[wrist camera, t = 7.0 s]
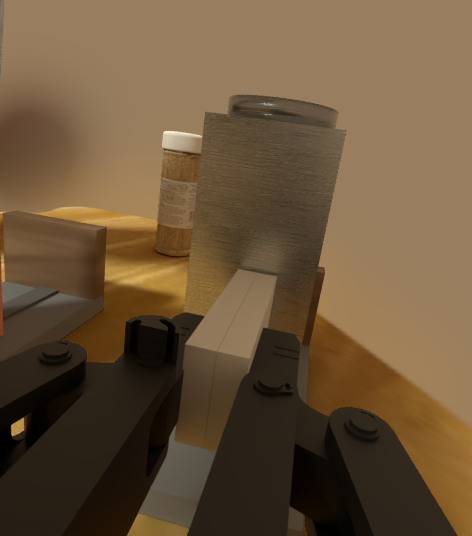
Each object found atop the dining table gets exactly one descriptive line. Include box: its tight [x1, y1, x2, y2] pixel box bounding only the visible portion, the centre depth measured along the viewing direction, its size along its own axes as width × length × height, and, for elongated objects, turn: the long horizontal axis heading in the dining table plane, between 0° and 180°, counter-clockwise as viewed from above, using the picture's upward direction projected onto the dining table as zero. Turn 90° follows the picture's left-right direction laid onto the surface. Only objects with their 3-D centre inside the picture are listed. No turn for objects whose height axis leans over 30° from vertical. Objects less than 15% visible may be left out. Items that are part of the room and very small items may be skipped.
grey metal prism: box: [183, 95, 346, 351], centre depth 18 cm, size 5×5×13 cm
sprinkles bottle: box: [155, 131, 203, 256], centre depth 44 cm, size 5×5×14 cm
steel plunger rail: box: [138, 267, 325, 536], centre depth 19 cm, size 14×7×6 cm, turn 169°
